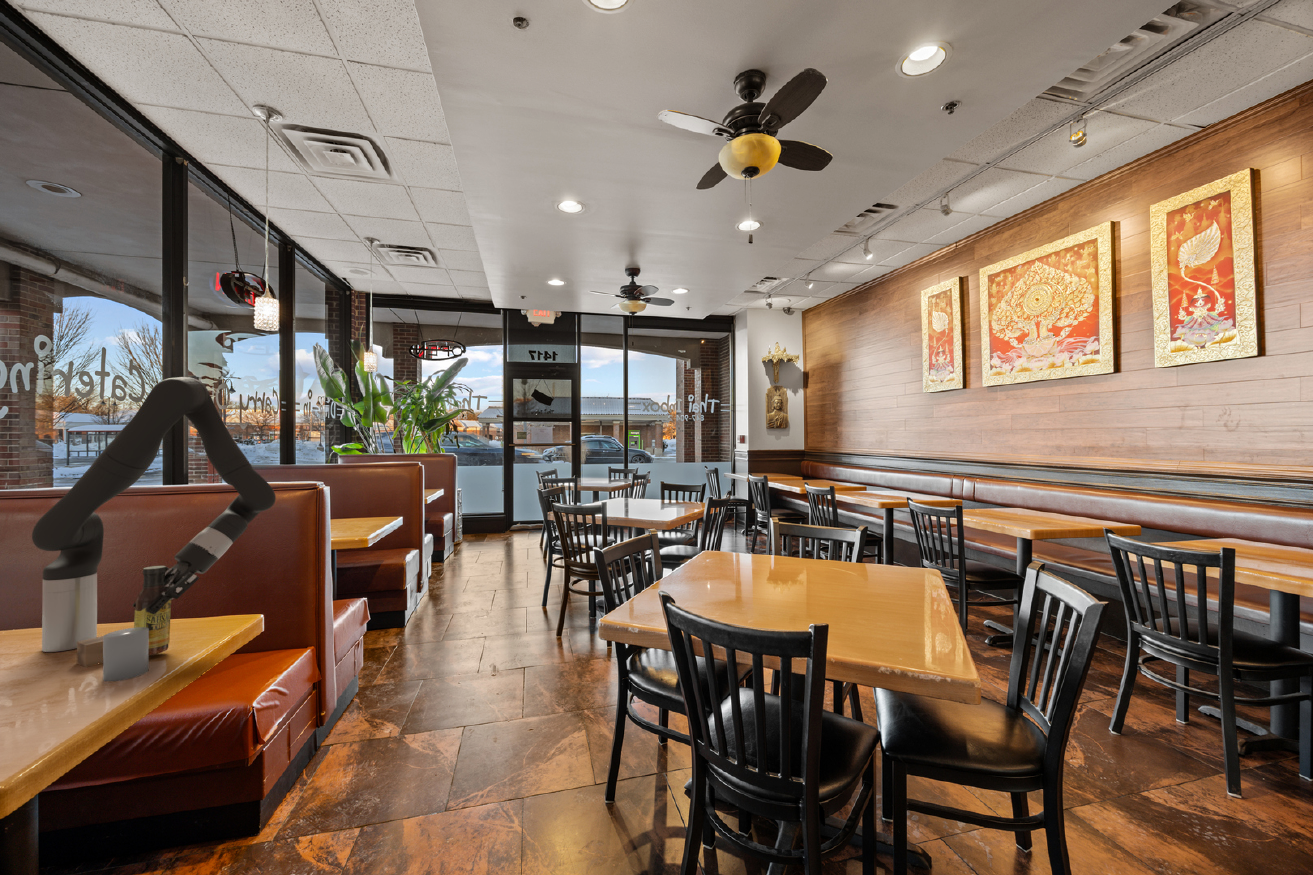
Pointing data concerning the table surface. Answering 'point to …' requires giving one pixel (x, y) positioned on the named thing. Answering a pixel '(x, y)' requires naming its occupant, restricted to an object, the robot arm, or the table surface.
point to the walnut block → (90, 651)
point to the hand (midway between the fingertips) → (143, 609)
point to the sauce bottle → (161, 619)
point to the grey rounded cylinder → (125, 654)
